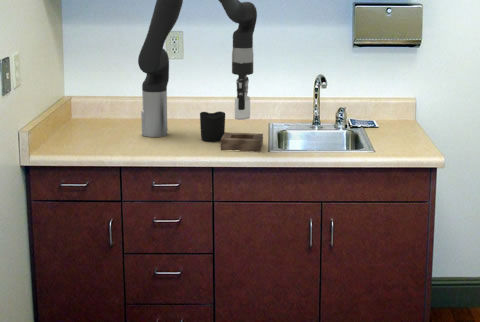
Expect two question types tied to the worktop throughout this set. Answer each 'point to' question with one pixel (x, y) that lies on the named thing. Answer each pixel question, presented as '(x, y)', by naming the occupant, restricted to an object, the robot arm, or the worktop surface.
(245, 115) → the eye dropper bottle
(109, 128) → the worktop surface
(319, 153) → the worktop surface
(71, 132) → the worktop surface
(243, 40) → the robot arm
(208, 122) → the pen holder
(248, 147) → the recessed rectangular tray
